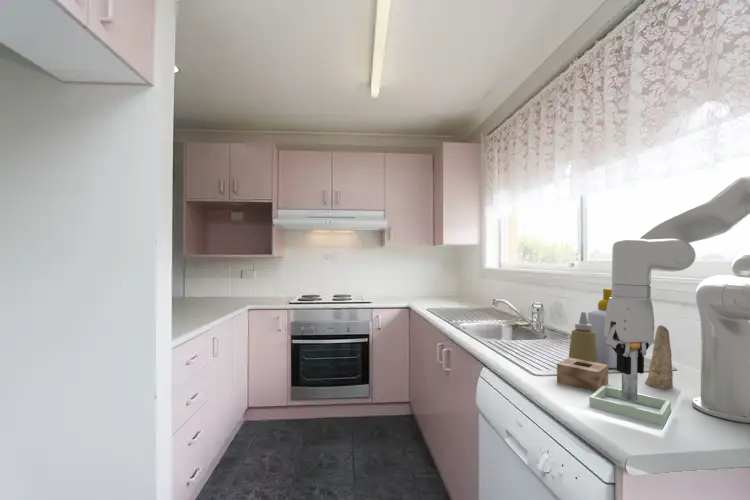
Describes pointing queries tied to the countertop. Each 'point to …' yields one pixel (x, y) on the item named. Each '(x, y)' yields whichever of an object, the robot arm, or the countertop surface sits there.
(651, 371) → the tapered stone wedge
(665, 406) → the tray
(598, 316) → the soap bottle
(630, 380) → the pin
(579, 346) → the squeeze bottle
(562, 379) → the socket block
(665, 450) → the countertop surface
